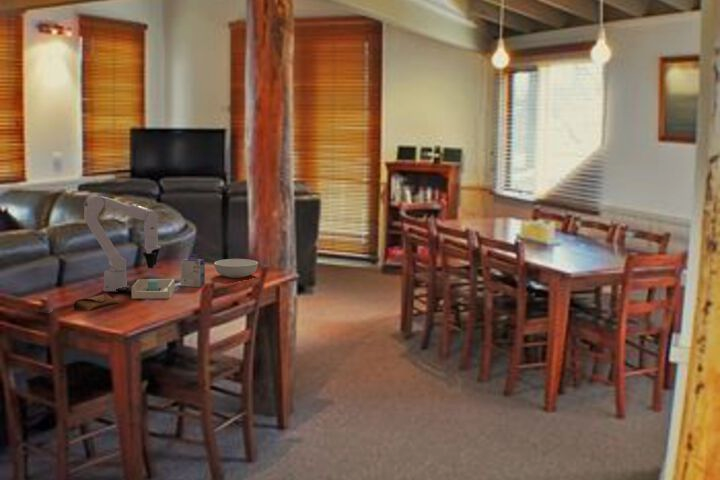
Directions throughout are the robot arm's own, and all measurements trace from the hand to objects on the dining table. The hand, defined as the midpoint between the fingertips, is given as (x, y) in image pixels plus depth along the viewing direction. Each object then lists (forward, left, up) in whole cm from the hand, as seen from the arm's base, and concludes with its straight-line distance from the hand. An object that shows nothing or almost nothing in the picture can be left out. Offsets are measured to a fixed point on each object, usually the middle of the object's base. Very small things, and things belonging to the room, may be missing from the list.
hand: (152, 266), depth 392 cm
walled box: (+3, -15, -9) cm, 18 cm away
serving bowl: (+36, +23, -10) cm, 44 cm away
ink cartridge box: (+18, +2, -10) cm, 21 cm away
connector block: (+3, -15, -10) cm, 18 cm away
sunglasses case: (-16, -36, -10) cm, 40 cm away
